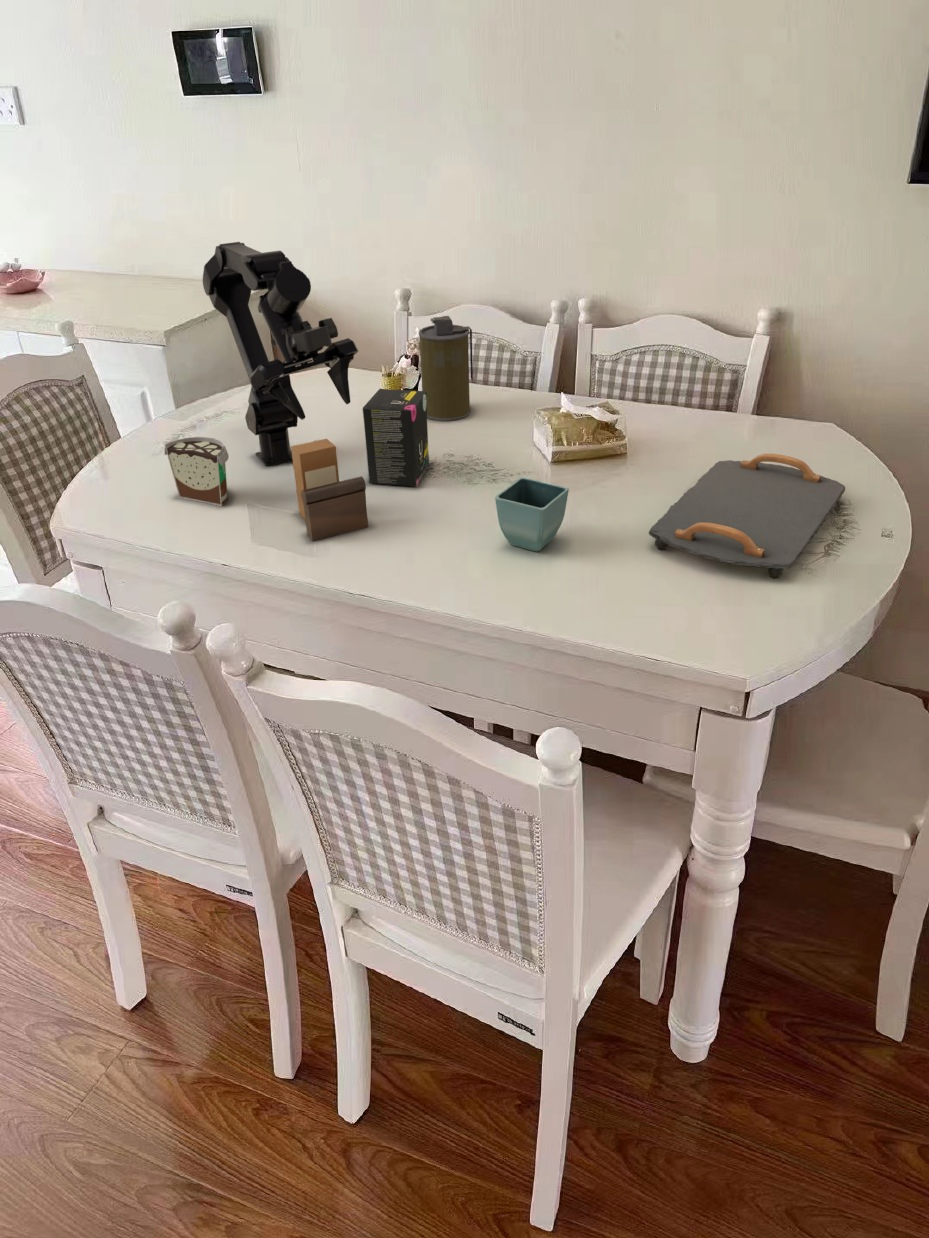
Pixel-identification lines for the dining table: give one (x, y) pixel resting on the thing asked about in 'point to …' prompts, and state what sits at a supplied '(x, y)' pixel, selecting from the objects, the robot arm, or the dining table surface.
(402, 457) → the tampon box
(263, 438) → the robot arm
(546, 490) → the flower pot
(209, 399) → the dining table surface
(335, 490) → the backrest
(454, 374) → the canister
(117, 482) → the dining table surface
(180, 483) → the food container
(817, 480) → the serving tray
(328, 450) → the cardboard box
